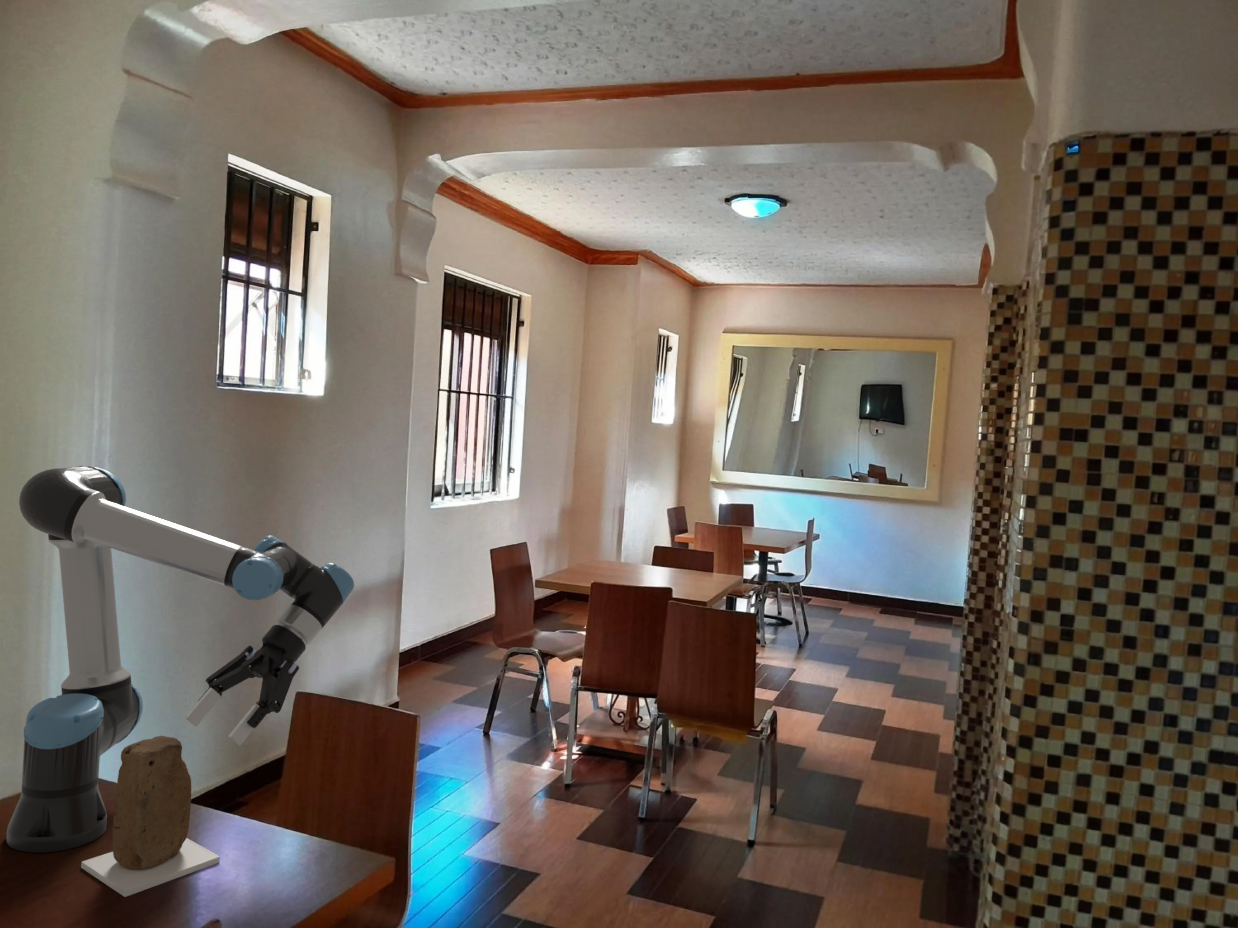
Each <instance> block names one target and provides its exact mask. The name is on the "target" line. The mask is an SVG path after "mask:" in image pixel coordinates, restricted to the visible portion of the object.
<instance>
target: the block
mask: <svg viewBox="0 0 1238 928" xmlns="http://www.w3.org/2000/svg"><path fill="white" fill-rule="evenodd" d="M182 752H183V746H182V742H181V741H180V740H179V739H178V738H176V737H171V736H165V735H159V736H157V735H156V736H154V737H152V738H148V739H142V740H139V741H136V742H133V743H131V744H129V745H127V746H125V747H124V748H123V749H122V750H121V752H120V753H121V754H120V760H121V765H120V766H119V770H118V775H117V782H116V789H115V801H114V802H115V805H114V809H115V812H114V815H113V822H112V852H113V856H114V858H115V860H116V861H117V862H118V863H119V864H121V865H122V866H124V867H126V868H128V869H145V868H152V867H155V866H157V865H160V864H162V863H164V862H165V861H167V859H169V858H172V857H173V856H175V855H176V854H178V852H179V850H180V849H181V847H182V844H183V843H184V841H185V839H186V838H188V835H189V834H188V833H189V828H190V819H191V818H190V816H191V804H192V777H191V774H190V773H189V771H188V770H189V769H188V768H187V764H186V761H184V759H182V758H183V757H182Z"/></svg>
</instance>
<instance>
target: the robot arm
mask: <svg viewBox="0 0 1238 928" xmlns="http://www.w3.org/2000/svg"><path fill="white" fill-rule="evenodd" d="M125 490H126V489H125V487H124V486H123V483H122V482H121V481H120V479H119V478H118V477H117V476H116V475H114V473H112V472H110V471H108V470H106V469H104V468H101V467H96V466H87V465H86V466H85V465H80V466H71V467H63V468H62V467H61V468H58V467H57V468H51V469H45V470H43V471H40V472H38V473H36V474H35V475H33V476H32V477H30V479H28V480H27V481H26V482H25V484H24V486H23V487H22V489H21V490H20V491H21V492H20V494H19V500H18V501H19V502H18V504H19V510H20V512H21V515H22V517H23V518H24V519H25V521H26V522H27V523H28V524H29V526H31V527H32V528H34V529H36V530H37V531H39V532H42V533H44V534H47V536H48V542H49V543H50V544H52V545H53V546H55V547H56V548H57V549H58V554H59V566H60V576H61V579H60V580H61V587H62V588H61V590H62V598H63V599H62V600H63V601H62V602H63V611H64V612H63V614H64V624H65V634H66V635H65V636H66V637H65V638H66V647H67V658H68V670H69V672H68V673H69V675H68V676H67V677H66V678H65V679H64V680H63V681H62V682H61V684H60V688H61V694H60V695H57V696H56V697H49V698H46V699H43V700H42V701H39V702H38V703H36V704H35V705H33V707H31V708H30V710H29V711H28V712H27V715H26V719H25V726H24V728H23V754H22V755H23V757H22V773H21V774H22V776H21V777H22V778H21V790H20V791H21V792H20V797H19V799H18V801H17V803H16V806H15V809H14V811H13V813H12V816H11V818H10V820H9V823H8V825H7V828H6V829H7V830H6V844H7V845H8V846H9V847H10V848H11V849H13V850H16V851H19V852H25V853H51V852H59V851H65V850H70V849H74V848H77V847H80V846H83V845H86V844H89V843H92V842H93V841H95V840H97V839H98V838H100V837H102V835H104V833H105V832H106V830H107V827H108V826H107V825H108V823H107V822H108V814H107V809H106V807H105V803H104V801H103V799H102V795H101V792H100V789H99V788H100V787H99V776H100V775H99V774H100V758H101V756H102V755H104V754H105V753H106V752H107V751H109V750H110V749H111V748H113V747H115V745H117V744H119V743H121V742H122V741H123V740H125V739H126V738H127V737H129V735H130V734H131V733H132V732H133V731H134V729H135V728H137V725H138V724H139V723H140V720H141V718H142V716H143V715H142V714H143V711H144V710H143V709H144V704H143V698H142V695H141V693H140V691H139V690H138V688H137V687H135V686H134V685H133V683H132V677H131V676H132V673H131V672H130V670H128V669H126V668H124V667H123V666H122V664H121V663H122V661H121V651H120V650H121V649H120V640H119V639H120V637H119V625H118V615H117V602H116V591H115V581H114V580H115V578H114V567H113V555H112V549H113V550H116V551H119V552H122V553H126V554H128V555H131V556H134V557H137V558H141V559H143V560H147V561H150V562H153V563H155V564H158V565H161V566H164V567H166V568H170V569H174V570H177V571H180V572H181V573H185V574H188V575H192V576H195V577H197V578H201V579H204V580H207V581H210V582H212V583H216V584H219V585H222V586H224V587H228V588H230V589H233V590H234V591H235V592H236V594H238V595H239V596H240V597H241V598H244V599H245V600H248V601H260V600H264V599H267V598H270V597H272V596H273V595H275V594H276V593H277V592H279V590H280V591H282V592H283V593H284V594H286V595H287V596H289V597H290V598H292V599H293V602H291V604H290V605H289V606H288V607H287V608H286V609H285V610H284V612H283V613H282V614H281V615H280V617H278V619H276V624H274V625H272V626H271V627H270V629H269V630H268V631H267V633H265V635H263V637H262V640H261V642H262V646H261V647H260V648H259V649H257V650H256V649H255V648H254V647H253V646H252V645H248V646H246V648H245V649H243V651H242V652H241V653H239V654H238V655H237V656H235V657H234V658H232V660H230V661H229V662H227V663H226V664H224V665H223V666H222V667H220V668H219V669H218V670H216V671H215V672H213V673H211V674H210V675H209V676H207V678H206V679H205V683H207V685H208V688H207V690H206V691H205V692H204V693H203V694H202V695H201V697H199V699H198V701H197V703H196V704H195V705H194V706H193V707H192V708H191V710H190V711H188V713H187V714H186V715H185V717H184V718H185V719H186V720H187V722H189V723H190V724H192V725H193V726H194V727H198V725H200V723H201V722H202V721H203V720H204V718H205V717H206V716H207V715H208V714H209V712H210V711H211V710H212V709H213V707H214V706H215V705H216V704H217V703H218V702H219V700H220V699H221V698H222V697H223V693H224V692H226V691H228V690H229V689H232V688H233V687H235V686H237V685H239V684H241V683H243V682H244V681H245V680H247V679H254V678H255V677H256V678H257V679H262V682H261V687H260V694H259V699H258V701H256V702H255V704H252V706H251V708H250V709H249V710H248V711H247V712H246V714H245V715H244V716H243V717H242V718H241V719H240V721H239V722H238V724H237V725H236V726H235V727H234V728H233V729H232V730H231V731H230V733H229V734H228V738H230V739H231V740H232V741H233V742H234V743H235V744H236V745H237V746H241V745H242V744H243V743H244V741H246V739H247V738H248V737H249V735H250V734H251V733H252V732H253V730H254V729H256V728H257V727H258V726H259V724H260V723H261V722H262V720H264V719H265V717H266V716H267V715H269V714H271V713H276V714H278V713H280V712H281V711H282V708H283V705H284V703H285V700H286V698H287V695H288V692H289V690H290V686H291V684H292V682H293V679H294V677H295V676H296V674H297V672H298V671H299V669H300V666H299V665H298V664H297V663H296V662H297V661H298V659H299V658H300V657H301V655H302V654H303V653H304V652H305V651H306V649H307V646H309V645H310V644H312V642H313V641H314V639H315V638H316V636H317V635H318V634H319V632H320V631H321V630H323V628H324V627H325V626H326V624H328V622H329V621H330V620H331V618H332V617H333V616H334V614H336V613H337V611H338V610H339V609H340V608H341V606H342V605H343V604H344V602H345V601H346V600H347V598H348V597H349V596H350V595H351V593H352V591H353V590H354V588H355V580H354V579H353V577H352V575H351V574H350V573H349V572H348V571H346V570H345V569H344V567H341V566H338V565H337V564H335V563H332V562H328V563H325V564H324V565H323V566H321V567H320V566H318V565H315V564H314V563H313V562H311V561H310V560H309V559H307V558H306V557H305V556H303V555H302V554H301V553H299V552H297V550H295V549H293V547H291V546H289V544H288V543H287V542H285V541H282V540H281V539H279V538H278V537H277V536H274V535H272V534H271V535H266V536H265V537H263V539H262V540H260V541H259V542H258V543H257V544H256V546H255V547H254V548H253V549H252V548H247V547H244V546H242V545H240V544H236V543H234V542H230V541H228V540H225V539H221V538H219V537H216V536H213V535H209V534H207V533H204V532H201V531H199V530H196V529H194V528H193V529H192V528H189V527H187V526H184V525H182V524H181V525H180V524H177V523H175V522H171V521H169V520H165V519H162V518H160V517H156V516H154V515H151V514H148V513H145V512H143V511H139V510H137V509H133V508H130V507H128V506H126V500H127V498H126V497H127V496H126V491H125Z"/></svg>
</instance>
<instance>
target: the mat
mask: <svg viewBox="0 0 1238 928" xmlns="http://www.w3.org/2000/svg"><path fill="white" fill-rule="evenodd" d="M220 858H221V856H219V855H218V854H216V853H214V852H213V851H210V850H209V849H207V848H205V847H204V846H202V845H200V844H198V843H197V842H195V841H193V840H191V839H189V838H188V837H187V838H186V839H185V841H184V843H183V844H182V847H181V849H180V850H179V852H178V854H176V855H175V856H173V857H172V858H169V859H167V861H165V862H164V863H162V864H160V865H157V866H155V867H152V868H145V869H128V868H126V867H124V866H122V865H121V864H119V863H118V862H117V861H116V860H115V858H114V856H113V851H110V852H107V853H104V854H102V855H97V856H95V857H92V858H89V859H86V860H83V861H81V864H80V865H81V866H80V868H81V869H83V870H84V871H85V872H87V873H88V874H89V875H91V876H93V877H94V878H96V879H98V881H100V882H102V883H103V884H105V885H106V886H108V887H109V888H110V889H112V890H114V891H115V892H117V894H120V895H121V896H123V897H124V898H126V897H129V896H132V895H135V894H136V893H139V892H143V891H145V890H147V889H151V888H153V887H155V886H156V887H157V886H160V885H162V884H165V883H167V882H170V881H173V880H175V879H177V878H181V877H184V876H186V875H188V874H192V873H195V872H197V871H199V870H203V869H205V868H208V867H211V866H214V865H216V864H220V861H221V860H220Z"/></svg>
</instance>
